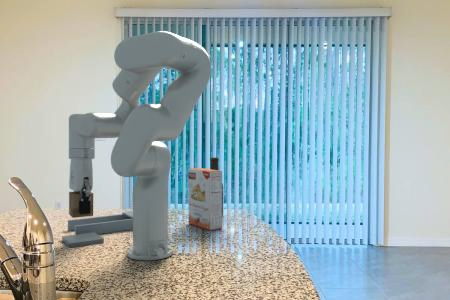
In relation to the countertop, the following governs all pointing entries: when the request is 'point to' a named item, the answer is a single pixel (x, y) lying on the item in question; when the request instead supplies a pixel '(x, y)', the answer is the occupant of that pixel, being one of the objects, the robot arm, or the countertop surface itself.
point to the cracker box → (205, 198)
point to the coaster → (82, 239)
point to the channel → (102, 224)
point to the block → (74, 205)
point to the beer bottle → (215, 167)
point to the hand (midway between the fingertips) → (81, 211)
